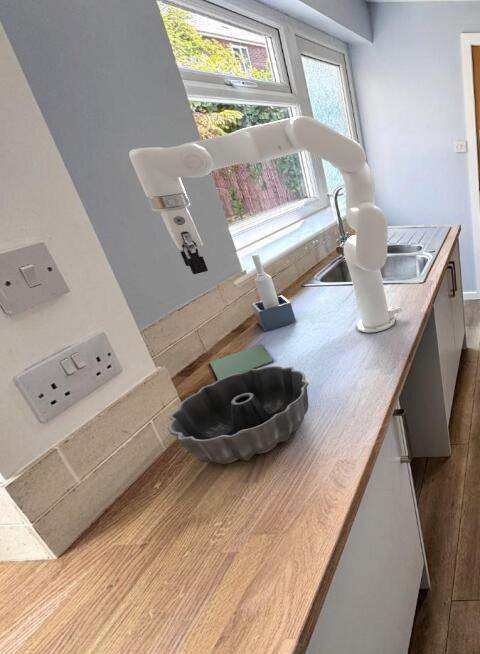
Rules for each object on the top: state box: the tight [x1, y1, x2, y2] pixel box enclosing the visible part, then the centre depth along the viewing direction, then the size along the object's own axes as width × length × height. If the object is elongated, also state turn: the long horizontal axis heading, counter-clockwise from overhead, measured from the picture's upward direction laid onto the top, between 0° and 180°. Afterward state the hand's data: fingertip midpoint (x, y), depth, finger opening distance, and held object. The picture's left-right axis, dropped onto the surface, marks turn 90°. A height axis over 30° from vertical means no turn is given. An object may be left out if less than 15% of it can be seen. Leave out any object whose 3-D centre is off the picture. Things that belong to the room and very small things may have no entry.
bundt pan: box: [167, 365, 310, 465], centre depth 91 cm, size 26×26×10 cm
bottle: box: [251, 253, 279, 309], centre depth 141 cm, size 5×5×25 cm
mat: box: [209, 344, 274, 381], centre depth 122 cm, size 14×14×1 cm
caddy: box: [251, 295, 297, 332], centre depth 145 cm, size 10×10×8 cm
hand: (197, 268), depth 105 cm, fingers open, 9 cm apart
